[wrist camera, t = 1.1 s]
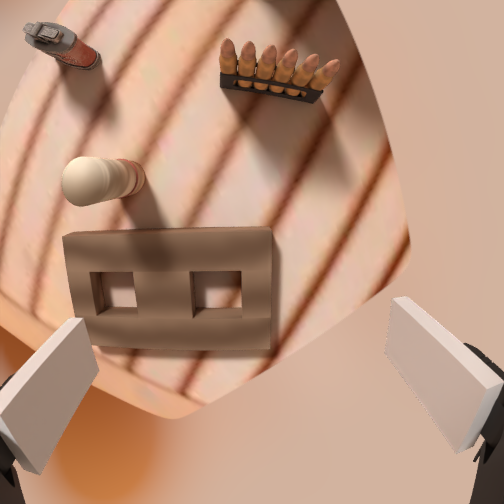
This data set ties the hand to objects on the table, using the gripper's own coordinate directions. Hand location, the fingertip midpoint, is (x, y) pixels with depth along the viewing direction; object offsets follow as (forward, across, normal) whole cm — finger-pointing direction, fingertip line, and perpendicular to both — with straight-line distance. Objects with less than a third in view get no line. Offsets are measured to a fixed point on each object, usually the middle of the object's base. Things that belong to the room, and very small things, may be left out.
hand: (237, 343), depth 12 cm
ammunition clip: (+25, +4, +16) cm, 30 cm away
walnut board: (+24, -9, -6) cm, 26 cm away
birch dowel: (+24, -12, +7) cm, 28 cm away
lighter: (+25, -19, +24) cm, 40 cm away
